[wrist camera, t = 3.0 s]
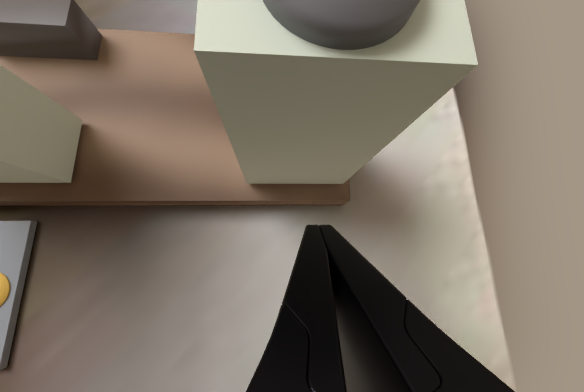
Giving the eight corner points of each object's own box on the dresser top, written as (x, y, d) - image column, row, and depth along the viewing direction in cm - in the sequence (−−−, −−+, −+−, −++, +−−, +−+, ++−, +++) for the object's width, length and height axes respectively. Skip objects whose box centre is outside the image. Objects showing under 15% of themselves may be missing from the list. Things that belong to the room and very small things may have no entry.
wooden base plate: (343, 204, 16) (365, 191, 13) (-22, 205, 14) (-129, 190, 11) (333, 58, 19) (349, 9, 15) (22, 42, 17) (-53, -19, 13)
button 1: (342, 184, 15) (504, 41, 5) (247, 183, 14) (182, 21, 4) (339, 126, 16) (468, -106, 5) (248, 123, 15) (197, -138, 5)
